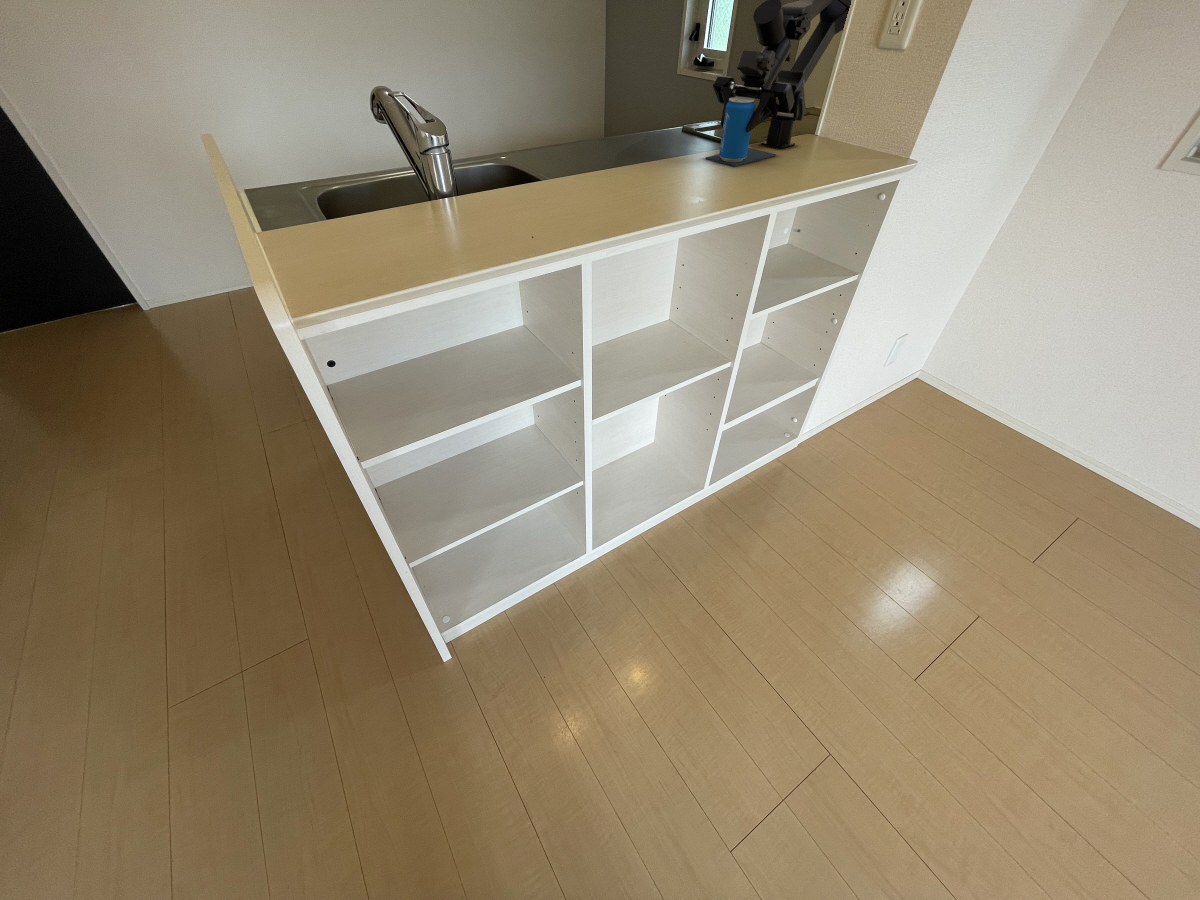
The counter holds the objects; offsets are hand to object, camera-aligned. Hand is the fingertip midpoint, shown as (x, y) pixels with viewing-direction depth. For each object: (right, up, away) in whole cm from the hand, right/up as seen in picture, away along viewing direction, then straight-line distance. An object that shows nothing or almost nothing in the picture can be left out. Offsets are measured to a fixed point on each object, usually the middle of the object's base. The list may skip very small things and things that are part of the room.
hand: (733, 128), depth 116 cm
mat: (+4, -2, +8) cm, 9 cm away
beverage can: (+1, -4, +5) cm, 7 cm away
